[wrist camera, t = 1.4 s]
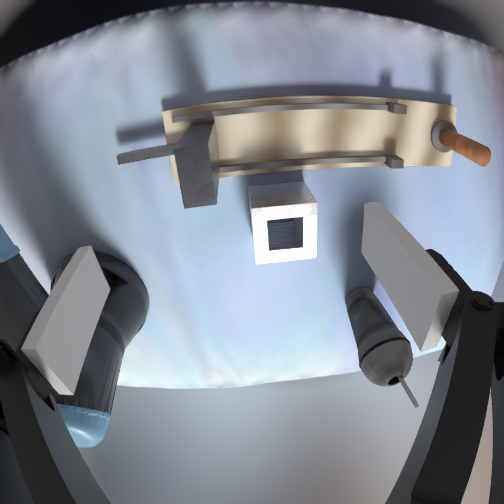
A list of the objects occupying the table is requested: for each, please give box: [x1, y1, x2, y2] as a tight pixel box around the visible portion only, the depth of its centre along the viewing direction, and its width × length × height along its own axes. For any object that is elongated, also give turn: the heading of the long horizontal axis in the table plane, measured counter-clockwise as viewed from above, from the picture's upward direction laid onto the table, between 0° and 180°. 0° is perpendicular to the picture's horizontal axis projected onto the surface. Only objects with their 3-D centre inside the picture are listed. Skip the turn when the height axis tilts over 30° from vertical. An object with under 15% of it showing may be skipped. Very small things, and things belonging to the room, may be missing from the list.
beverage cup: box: [345, 287, 419, 408], centre depth 37 cm, size 7×7×20 cm
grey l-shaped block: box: [117, 120, 220, 208], centre depth 26 cm, size 11×5×10 cm, turn 95°
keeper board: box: [162, 95, 491, 183], centre depth 27 cm, size 34×8×9 cm, turn 95°
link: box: [248, 181, 317, 264], centre depth 34 cm, size 6×6×6 cm
